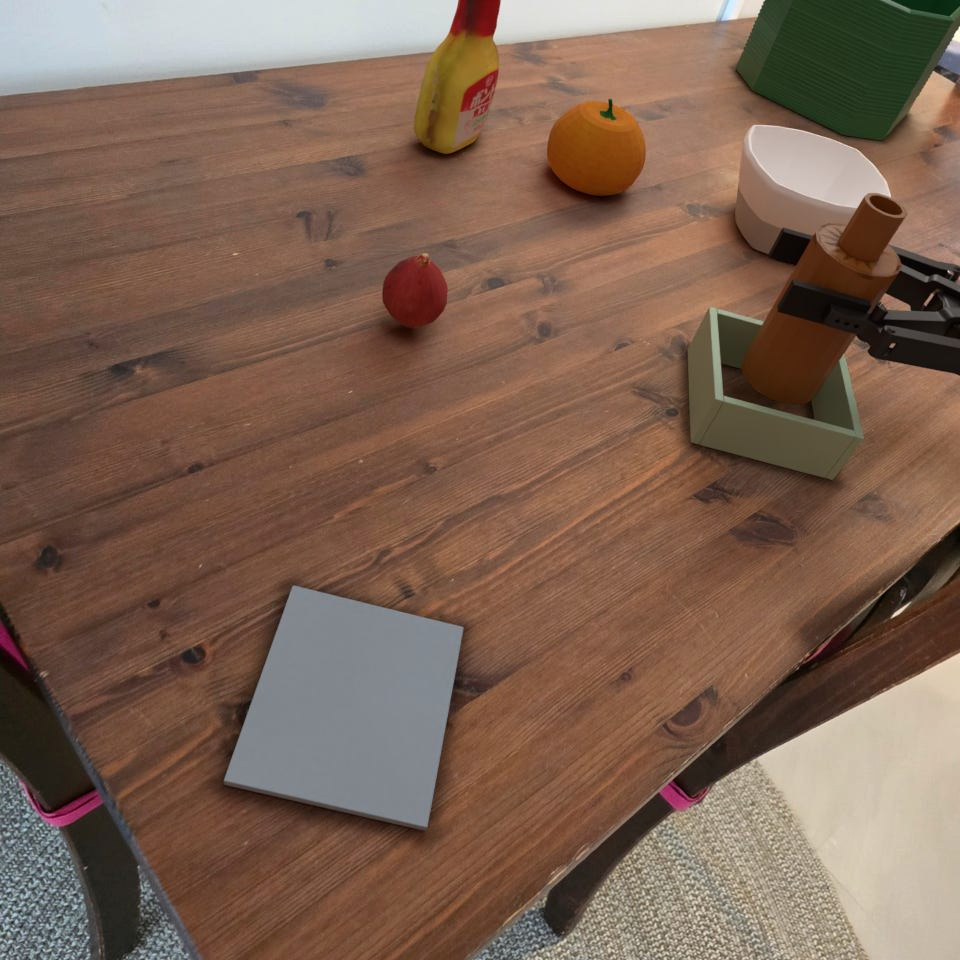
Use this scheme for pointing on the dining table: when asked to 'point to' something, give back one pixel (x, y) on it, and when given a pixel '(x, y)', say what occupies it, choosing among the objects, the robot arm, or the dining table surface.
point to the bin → (762, 428)
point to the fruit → (597, 148)
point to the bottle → (460, 80)
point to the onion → (415, 291)
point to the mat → (350, 709)
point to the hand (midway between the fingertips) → (780, 268)
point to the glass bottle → (835, 266)
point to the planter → (848, 58)
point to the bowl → (798, 183)
